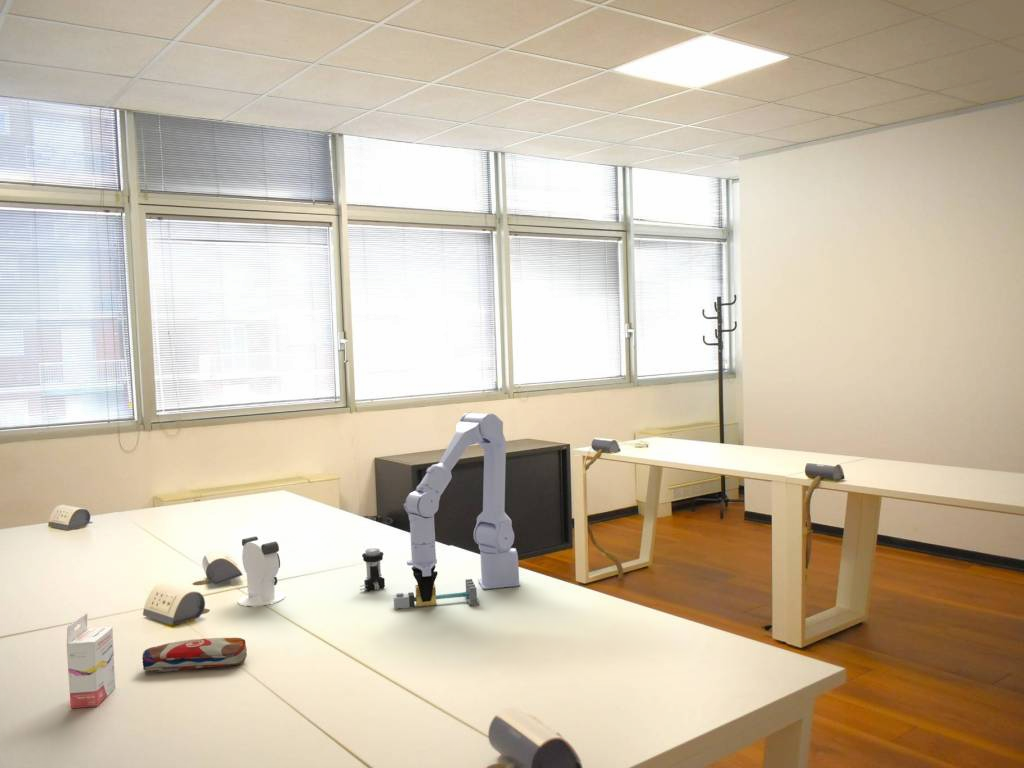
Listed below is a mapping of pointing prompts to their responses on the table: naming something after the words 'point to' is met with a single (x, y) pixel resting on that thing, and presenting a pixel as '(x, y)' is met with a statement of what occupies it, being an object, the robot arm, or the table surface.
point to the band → (411, 599)
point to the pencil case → (195, 654)
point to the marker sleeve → (427, 603)
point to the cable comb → (471, 592)
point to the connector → (401, 601)
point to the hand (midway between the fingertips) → (425, 598)
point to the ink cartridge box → (89, 664)
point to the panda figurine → (260, 572)
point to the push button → (373, 570)
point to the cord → (449, 595)
